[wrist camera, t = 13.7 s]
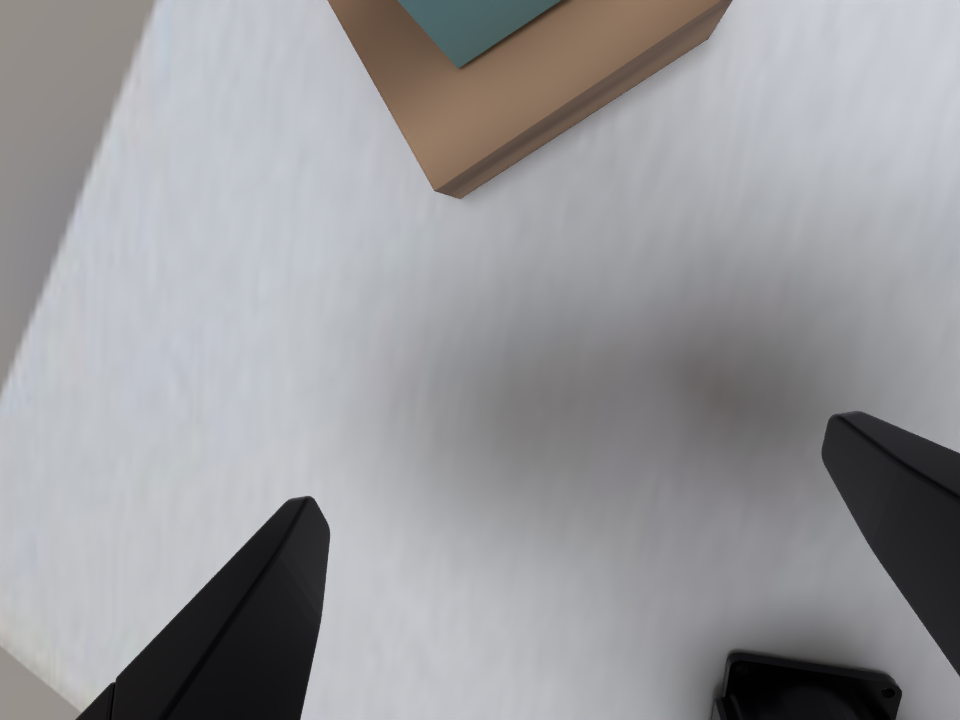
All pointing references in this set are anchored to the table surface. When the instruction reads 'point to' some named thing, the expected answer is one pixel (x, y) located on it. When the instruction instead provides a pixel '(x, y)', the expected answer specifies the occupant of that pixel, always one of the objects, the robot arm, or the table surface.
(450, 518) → the table surface
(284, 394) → the table surface
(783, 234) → the table surface
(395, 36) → the walnut block
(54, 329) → the table surface
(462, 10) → the teal pillar
